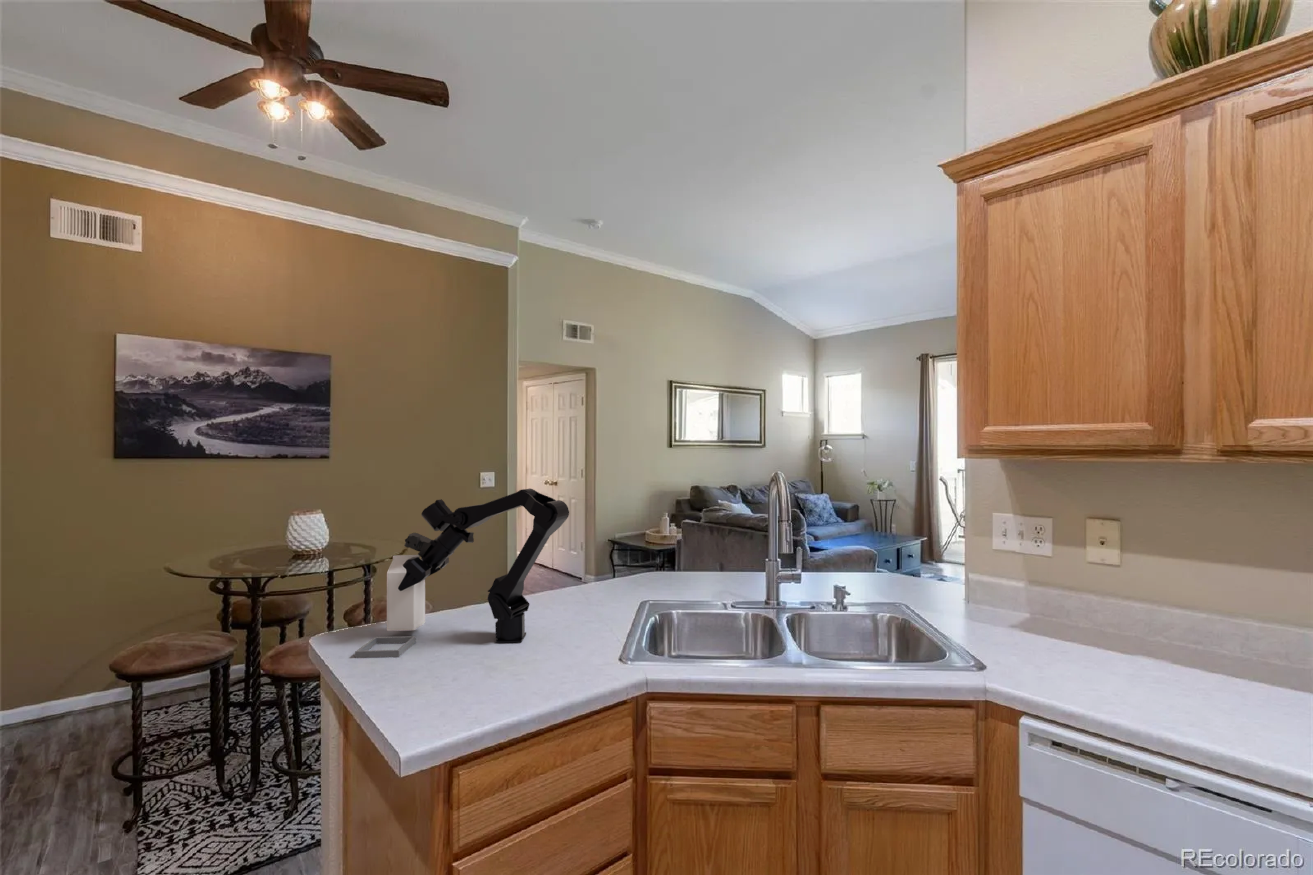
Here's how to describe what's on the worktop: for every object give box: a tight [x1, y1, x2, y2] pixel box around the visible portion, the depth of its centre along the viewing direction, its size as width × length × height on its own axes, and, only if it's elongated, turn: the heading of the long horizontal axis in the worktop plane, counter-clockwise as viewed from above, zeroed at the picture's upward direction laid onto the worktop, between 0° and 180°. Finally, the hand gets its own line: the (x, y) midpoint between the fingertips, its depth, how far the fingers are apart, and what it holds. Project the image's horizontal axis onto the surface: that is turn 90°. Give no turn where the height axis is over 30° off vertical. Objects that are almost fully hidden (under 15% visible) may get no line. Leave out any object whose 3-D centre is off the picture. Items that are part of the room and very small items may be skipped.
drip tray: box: [354, 635, 417, 659], centre depth 141 cm, size 10×10×2 cm
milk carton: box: [386, 554, 426, 632], centre depth 153 cm, size 7×7×19 cm
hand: (405, 586), depth 153 cm, fingers closed on milk carton, 7 cm apart
